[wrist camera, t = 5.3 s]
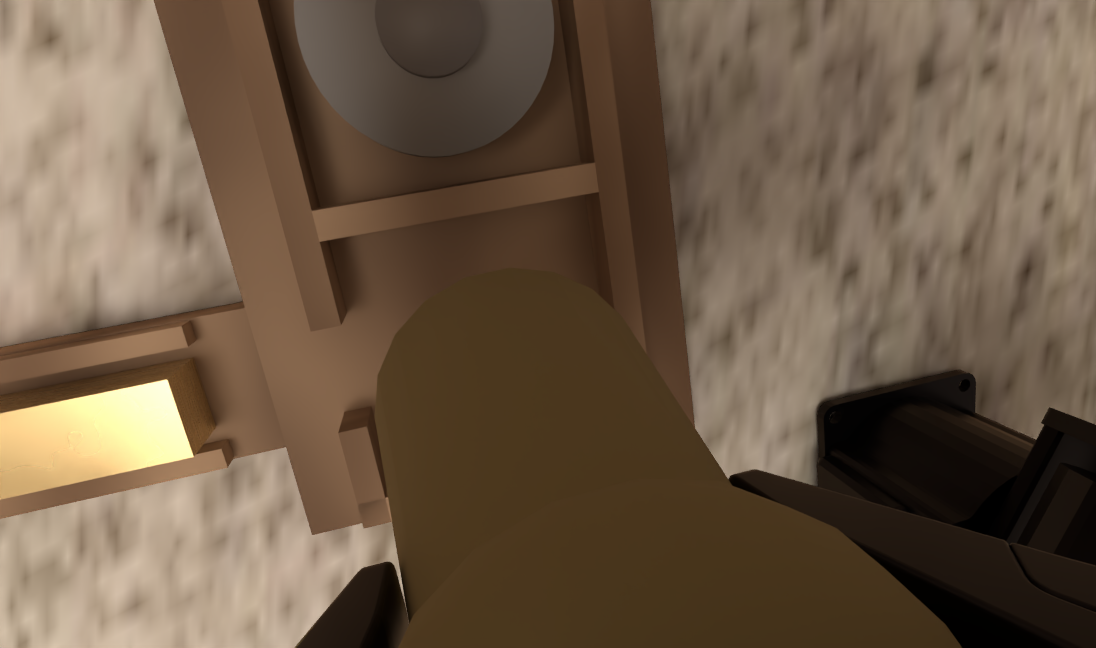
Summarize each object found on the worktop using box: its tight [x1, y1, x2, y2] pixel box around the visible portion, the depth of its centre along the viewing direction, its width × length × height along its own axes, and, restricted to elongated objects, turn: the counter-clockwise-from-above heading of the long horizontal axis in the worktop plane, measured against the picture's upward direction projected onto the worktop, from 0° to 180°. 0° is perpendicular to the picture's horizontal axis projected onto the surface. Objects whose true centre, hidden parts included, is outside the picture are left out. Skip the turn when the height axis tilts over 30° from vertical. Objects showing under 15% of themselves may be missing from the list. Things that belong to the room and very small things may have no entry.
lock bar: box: [0, 357, 216, 500], centre depth 17 cm, size 6×2×2 cm, turn 99°
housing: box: [0, 0, 695, 535], centre depth 17 cm, size 22×19×4 cm
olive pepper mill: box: [375, 268, 962, 648], centre depth 9 cm, size 6×6×11 cm
